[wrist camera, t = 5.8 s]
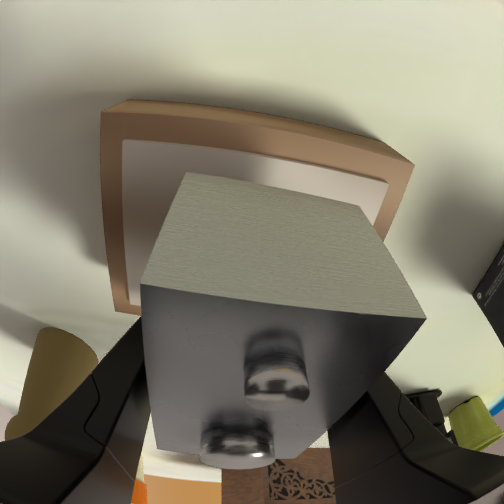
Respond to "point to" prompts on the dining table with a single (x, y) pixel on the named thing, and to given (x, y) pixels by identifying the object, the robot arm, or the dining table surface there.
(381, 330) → the housing
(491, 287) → the small box
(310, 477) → the tissue box cover
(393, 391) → the robot arm
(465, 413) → the plant pot
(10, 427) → the cork
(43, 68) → the dining table surface
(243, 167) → the picture frame
